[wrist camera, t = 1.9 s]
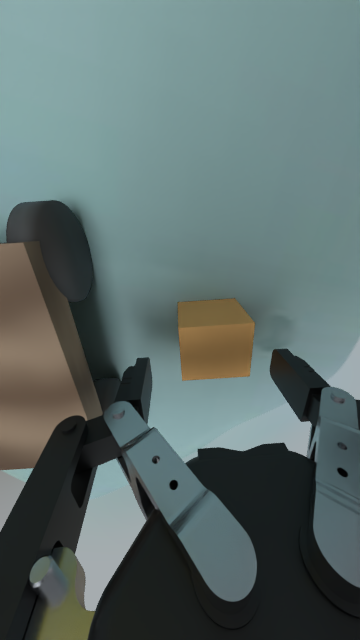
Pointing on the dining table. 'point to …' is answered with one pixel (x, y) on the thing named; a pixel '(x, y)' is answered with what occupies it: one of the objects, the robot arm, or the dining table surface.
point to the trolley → (43, 331)
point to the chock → (214, 339)
